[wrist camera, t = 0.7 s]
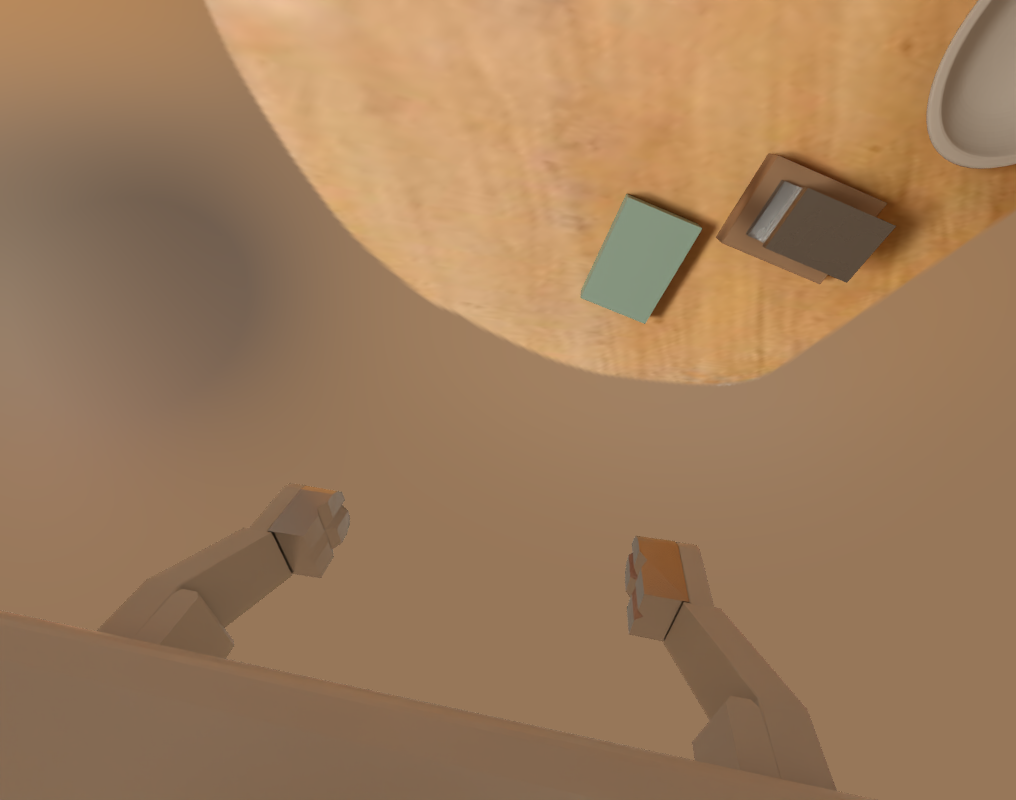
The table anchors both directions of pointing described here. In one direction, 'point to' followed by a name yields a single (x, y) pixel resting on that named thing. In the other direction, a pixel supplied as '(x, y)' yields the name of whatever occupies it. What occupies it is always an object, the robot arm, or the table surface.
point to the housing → (818, 230)
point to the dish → (977, 90)
